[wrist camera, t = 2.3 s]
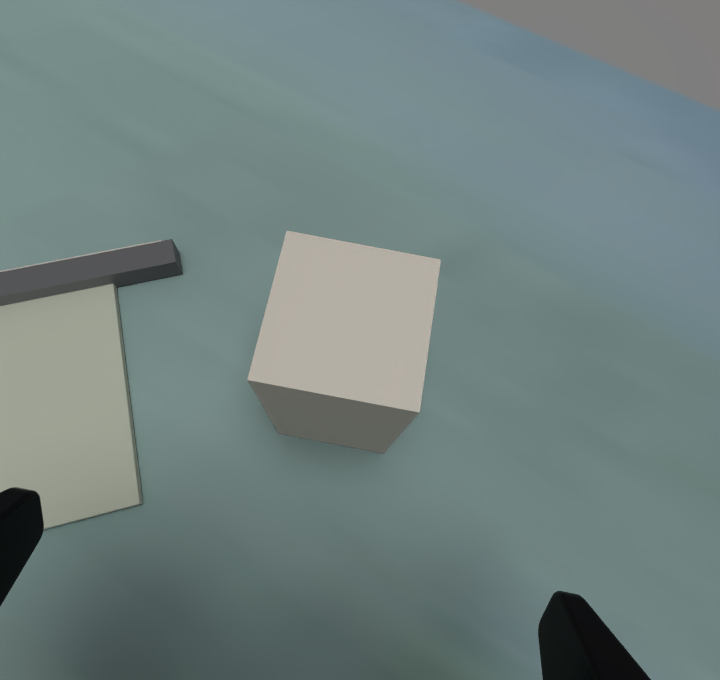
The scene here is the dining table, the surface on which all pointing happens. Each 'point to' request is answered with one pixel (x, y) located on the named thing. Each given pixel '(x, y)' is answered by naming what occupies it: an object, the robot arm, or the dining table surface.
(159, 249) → the rail
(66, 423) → the pad
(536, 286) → the dining table surface
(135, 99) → the dining table surface
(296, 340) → the carton
